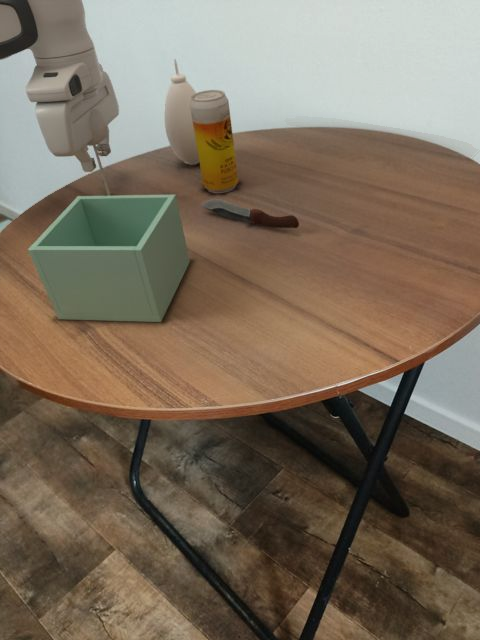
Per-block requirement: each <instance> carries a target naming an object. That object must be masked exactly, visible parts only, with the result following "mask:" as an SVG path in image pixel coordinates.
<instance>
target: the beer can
mask: <svg viewBox="0 0 480 640" xmlns="http://www.w3.org/2000/svg"><path fill="white" fill-rule="evenodd" d="M190 109H191V115H192V121H193V127H194V132H195V138H196V144H197V150H198V156H199V162H198V163H199V167H200V172H201V179H202V185H203V187H204V188H205V189H206V190H207V191H208V192H209V193H212V194H224V193H228V192H231V191H233V190H234V189H235V188H236V186H237V184H238V183H239V175H238V168H237V167H238V166H237V160H236V159H237V158H236V152H235V151H236V150H235V143H234V135H233V127H232V126H233V125H232V119H231V112H230V111H231V110H230V103H229V99H228V97H227V96H226V92H225V91H223V90H220V89H208V90H207V89H206V90H202V91H198V92H196V93H195V94H193V95H192V96H191V102H190Z"/></svg>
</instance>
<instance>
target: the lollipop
mask: <svg viewBox="0 0 480 640" xmlns="http://www.w3.org/2000/svg"><path fill="white" fill-rule="evenodd" d="M90 129H91V132H92V134H93V139H92V140H91V141H90V142H89V143H88V144H87V146H89V147H93V151H94V154H95V157H96V161H97V164H98V167H99V170H100V174H101V177H102V180H103V183H104V187H105V190H106V193H107V196H112V195H111V192H110V188H109V185H108V181H107V179H106V175H105V172H104V167H103V164H102V161H101V158H100V156H99V154H98V151H97V148H96V146H97V145H98V144H99V143H101V142H102V141H103V140H104V138H105V137H106V134H107V121H106V119H105V117H104V116H103V115H102V114H101V112H99V111H98V110H97V109H93V110H92V111H91V113H90Z"/></svg>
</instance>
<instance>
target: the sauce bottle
mask: <svg viewBox="0 0 480 640" xmlns="http://www.w3.org/2000/svg"><path fill="white" fill-rule="evenodd" d="M173 59H174V60H173V61H174V70H175V74H174V75H172V76H171V77H170V84H169V86H168V89H167V93H166V97H165V103H164V111H163V112H164V113H163V115H164V128H165V134H166V137H167V140H168V143H169V146H170V148H171V151H172V152H173V153H174V154H175V156H176V157H177V158H178V159H179V160H180V161H182V162H183V163H184V164H186V165H189V166H195V165H198V164H199V163H200V162H199V156H198V150H197V144H196V138H195V132H194V127H193V121H192V115H191V109H190V102H191V96H192V95H193V94H195V93H197V92H196V90H195V89H194V87H193V86H192V85H191V83H190V82H188V81H187V77H186V75H185V74H181V73H180V72H179V67H178V63H177V60H176V58H173Z"/></svg>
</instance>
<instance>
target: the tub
mask: <svg viewBox="0 0 480 640" xmlns="http://www.w3.org/2000/svg"><path fill="white" fill-rule="evenodd" d="M180 213H181V212H180V209H179V203H178V198H177V194H126V195H125V194H123V195H122V194H121V195H119V194H118V195H111V196H108V195H77V196H76V197H75V199H73V200H72V202H70V204H69V205H68V206H67V207H66V208H65V209H64V210H63V211H62V212H61V213H60V214H59V215H58V216H57V218H56V219H55V220H54V221H53V222H52V223H51V224H50V225H49V226H48V228H46V229H45V230H44V232H42V234H41V235H40V236H39V237H38V238H37V239H36V240H35V241H34V242H33V243H32V244H31V245H30V246H29V248H28V249H27V251H28V255H29V257H30V258H31V260H32V263H33V265H34V267H35V270H36V272H37V274H38V277H39V279H40V281H41V283H42V286H43V287H44V290H45V293H46V295H47V297H48V299H49V301H50V303H51V306H52V308H53V310H54V312H55V315H56V317H57V319H58V320H69V321H70V320H73V321H76V320H77V321H103V322H105V321H106V322H107V321H108V322H109V321H111V322H139V323H142V322H145V323H161V322H162V321H163V320H164V317H165V314H166V313H167V310H168V308H169V306H170V304H171V302H172V300H173V298H174V296H175V294H176V292H177V289H178V288H179V285H180V283H181V281H182V279H183V277H184V275H185V273H186V271H187V269H188V267H189V265H190V262H191V261H190V256H189V255H190V254H189V250H188V247H187V241H186V237H185V231H184V227H183V223H182V218H181V214H180Z"/></svg>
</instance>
